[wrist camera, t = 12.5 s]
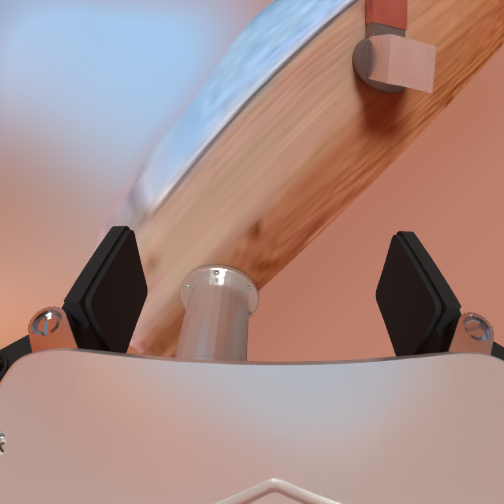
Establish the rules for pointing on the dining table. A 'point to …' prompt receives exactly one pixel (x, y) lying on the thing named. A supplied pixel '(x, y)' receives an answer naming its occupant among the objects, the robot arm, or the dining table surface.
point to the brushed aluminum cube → (401, 62)
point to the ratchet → (380, 23)
